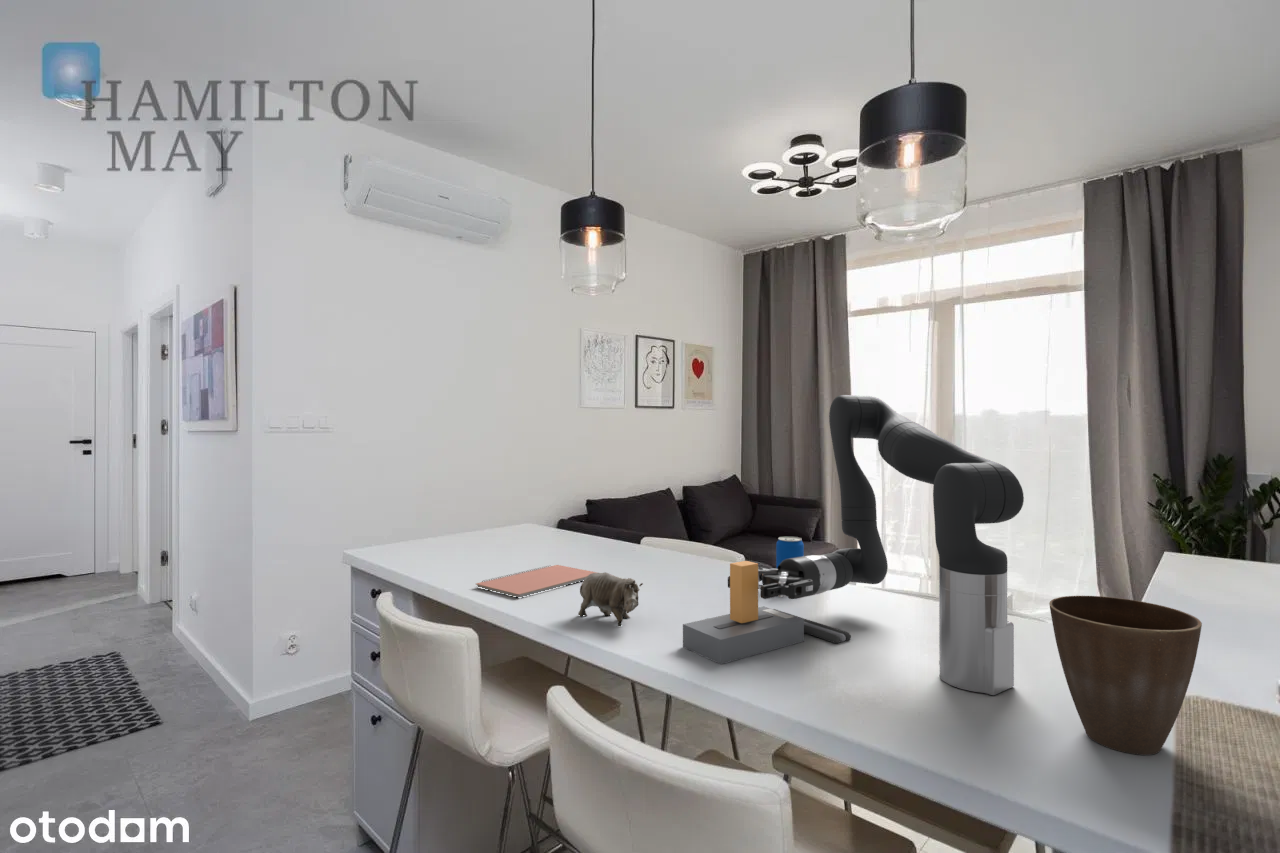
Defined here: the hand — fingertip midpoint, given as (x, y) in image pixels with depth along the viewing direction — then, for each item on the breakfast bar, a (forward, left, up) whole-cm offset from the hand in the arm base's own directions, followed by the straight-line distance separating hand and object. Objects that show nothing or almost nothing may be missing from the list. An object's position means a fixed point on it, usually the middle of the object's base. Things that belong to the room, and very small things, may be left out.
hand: (745, 587), depth 114 cm
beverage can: (+23, -37, -10) cm, 44 cm away
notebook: (+62, +11, -11) cm, 64 cm away
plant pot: (-52, -14, -10) cm, 55 cm away
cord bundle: (0, -12, -10) cm, 16 cm away
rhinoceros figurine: (+24, +12, -10) cm, 29 cm away
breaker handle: (0, 0, -6) cm, 6 cm away
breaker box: (0, 0, -10) cm, 10 cm away
